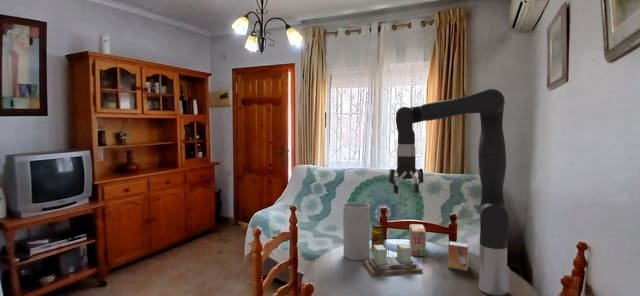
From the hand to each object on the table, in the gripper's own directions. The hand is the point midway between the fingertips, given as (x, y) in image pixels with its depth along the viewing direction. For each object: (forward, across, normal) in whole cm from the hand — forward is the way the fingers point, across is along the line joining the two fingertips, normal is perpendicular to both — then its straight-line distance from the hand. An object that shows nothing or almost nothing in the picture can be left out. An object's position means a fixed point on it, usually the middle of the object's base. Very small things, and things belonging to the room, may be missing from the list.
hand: (406, 193), depth 141 cm
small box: (+34, +25, +2) cm, 43 cm away
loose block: (+33, +2, +6) cm, 33 cm away
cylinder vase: (+34, -16, +22) cm, 44 cm away
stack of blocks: (+34, +18, +28) cm, 48 cm away
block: (+33, -10, +6) cm, 34 cm away
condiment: (+34, -2, +32) cm, 47 cm away
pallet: (+34, -4, +6) cm, 35 cm away
